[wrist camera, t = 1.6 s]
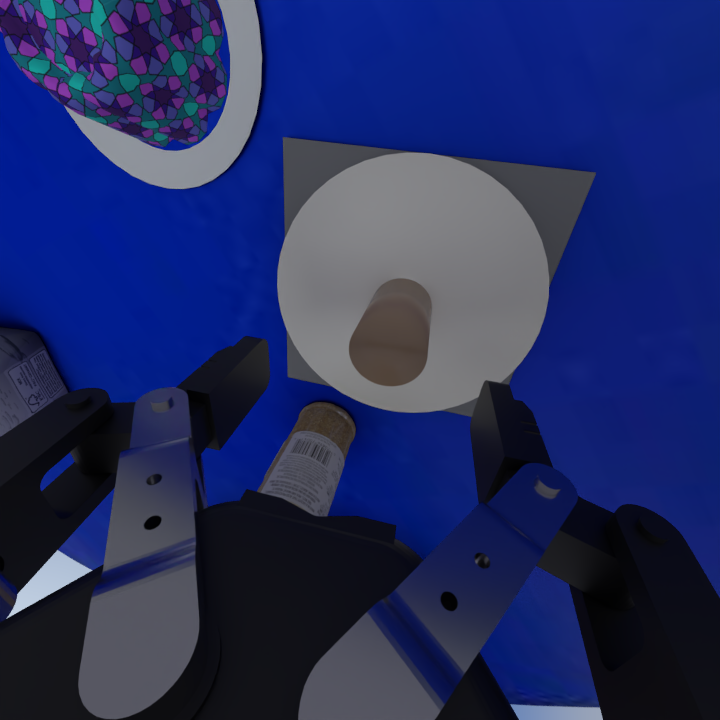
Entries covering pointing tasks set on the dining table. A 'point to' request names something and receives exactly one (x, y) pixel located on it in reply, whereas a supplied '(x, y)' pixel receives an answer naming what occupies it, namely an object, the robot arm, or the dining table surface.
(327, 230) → the lid
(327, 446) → the sprinkles bottle
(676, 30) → the dining table surface
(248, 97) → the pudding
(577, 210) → the mat
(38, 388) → the juice carton
